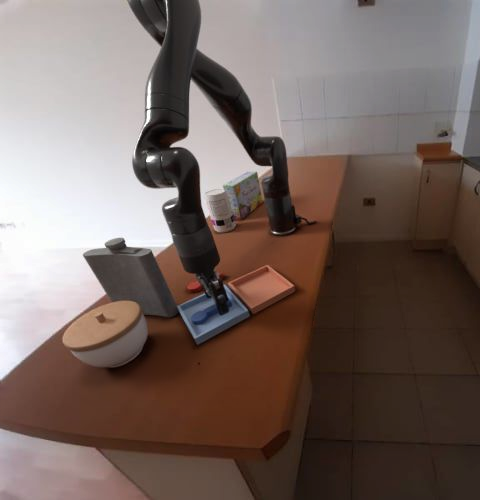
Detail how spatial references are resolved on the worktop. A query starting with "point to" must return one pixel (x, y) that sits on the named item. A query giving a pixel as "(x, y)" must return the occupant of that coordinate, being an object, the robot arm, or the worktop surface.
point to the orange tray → (261, 288)
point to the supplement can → (220, 210)
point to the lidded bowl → (108, 334)
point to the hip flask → (132, 277)
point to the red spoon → (198, 285)
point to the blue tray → (215, 322)
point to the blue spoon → (206, 314)
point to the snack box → (244, 194)
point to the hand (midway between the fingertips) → (217, 304)
